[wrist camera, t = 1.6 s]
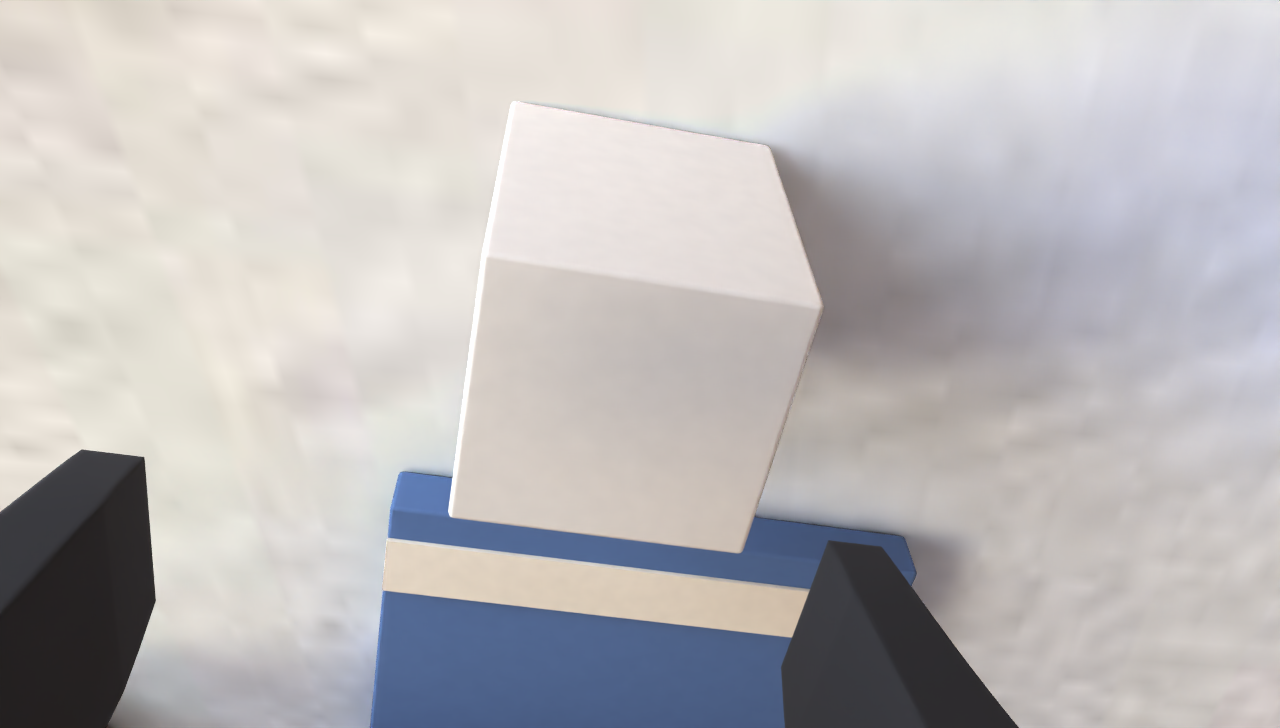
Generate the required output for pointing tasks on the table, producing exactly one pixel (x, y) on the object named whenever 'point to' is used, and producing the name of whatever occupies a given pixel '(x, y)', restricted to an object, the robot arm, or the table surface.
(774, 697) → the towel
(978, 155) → the table surface
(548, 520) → the white block
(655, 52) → the table surface
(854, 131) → the table surface
